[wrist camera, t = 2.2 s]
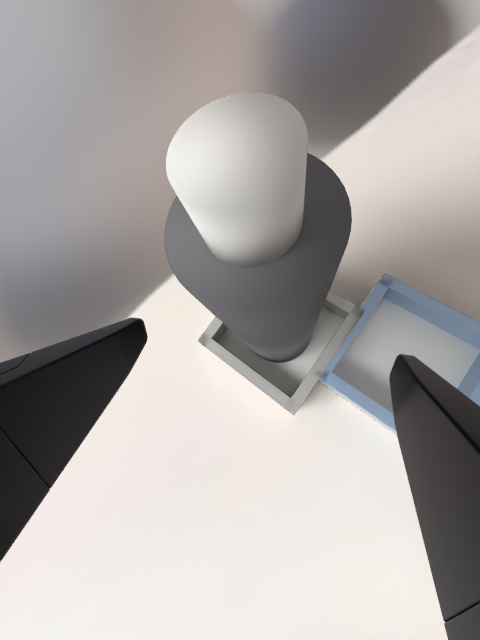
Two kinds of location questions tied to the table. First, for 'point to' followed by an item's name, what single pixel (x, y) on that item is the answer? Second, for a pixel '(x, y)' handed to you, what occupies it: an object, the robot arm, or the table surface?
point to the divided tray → (363, 350)
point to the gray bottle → (255, 221)
